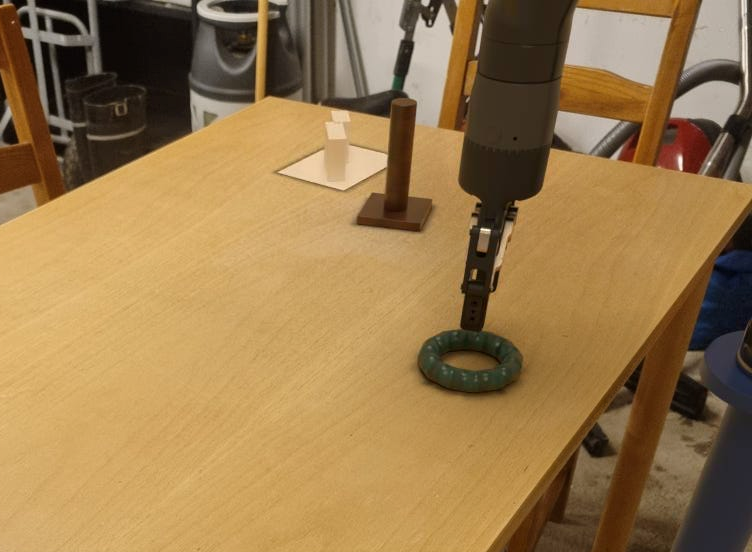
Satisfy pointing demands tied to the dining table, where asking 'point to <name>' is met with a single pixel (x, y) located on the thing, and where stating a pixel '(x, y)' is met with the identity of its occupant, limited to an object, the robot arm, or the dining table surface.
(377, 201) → the post
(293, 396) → the dining table surface
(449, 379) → the ring
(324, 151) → the napkin holder
